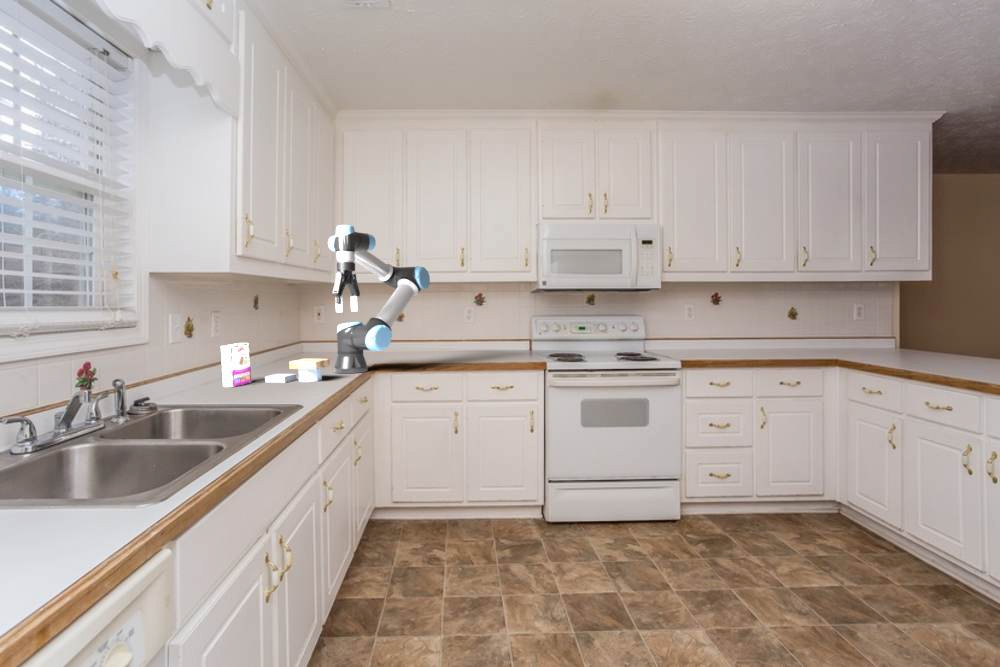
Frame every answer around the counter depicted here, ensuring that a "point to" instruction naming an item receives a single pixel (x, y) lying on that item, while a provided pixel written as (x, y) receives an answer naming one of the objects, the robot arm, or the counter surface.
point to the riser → (280, 378)
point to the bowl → (310, 375)
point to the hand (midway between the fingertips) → (347, 311)
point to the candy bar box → (236, 364)
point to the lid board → (309, 363)
